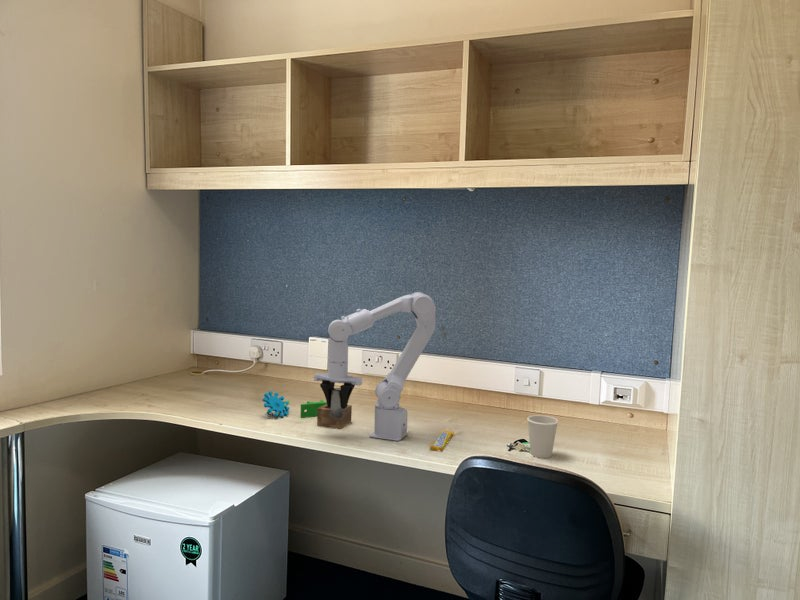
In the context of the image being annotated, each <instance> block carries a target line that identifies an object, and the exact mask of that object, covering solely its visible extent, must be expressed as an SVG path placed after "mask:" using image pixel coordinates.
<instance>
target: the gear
mask: <svg viewBox="0 0 800 600" xmlns="http://www.w3.org/2000/svg"><path fill="white" fill-rule="evenodd" d="M273 394H274V395H273ZM279 395H280V394H279V392H277V391H276V392H275V393H274V392H273V391H271V390H270V391H268V392H266V393H264V394H263V398H262V401H263V403H264V404H263V407H264V408H268V409H267V412H266V414H267V415H270V414H272V412H273V416H274V417H275V418H277V417H278V415H279V417H280V418H281V417H283V418H284V417H285V416H286V417H287V415H289V414H290V413H289V411H290V406H288V405H289V404H290V403H291V400H289V399H287V400H286V401H285V397H284V395H281V396H280V397H278V396H279Z"/></svg>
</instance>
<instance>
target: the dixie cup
mask: <svg viewBox="0 0 800 600" xmlns="http://www.w3.org/2000/svg"><path fill="white" fill-rule="evenodd" d="M526 420H527V423H528V426H527V427H528V435H529V452H530V455H531V456H532V455H533V456H532V457H534V456H536V457H535V458H538V457H539V459H550V458H551V457H552V456H553V452H554V451H553V450H554V444H555V439H556V434H557V433H556V432H557V428H558V424H559V420H558V419H557V418H556V417H554V416H549V415H543V414H542V415H541V414H535V415H530V416H528V417H527V419H526Z"/></svg>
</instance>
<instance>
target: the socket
mask: <svg viewBox="0 0 800 600" xmlns="http://www.w3.org/2000/svg"><path fill="white" fill-rule="evenodd" d="M352 407H353V405H352V404H347V408H345V409H344V417H342V418H332V417H330V407H328V406H327V404H325V405H323V406H321V407H319V408H317V417H316V424H317V425H316V426H318V427H322V426H323V427H324V428H329V429H330V428H332V429H336V428H337V429H338V430H341V429H343V428H345V427H346V426H348V425H350V424H351V423H352V415H353V412H352V409H353V408H352ZM344 426H345V427H344Z"/></svg>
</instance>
